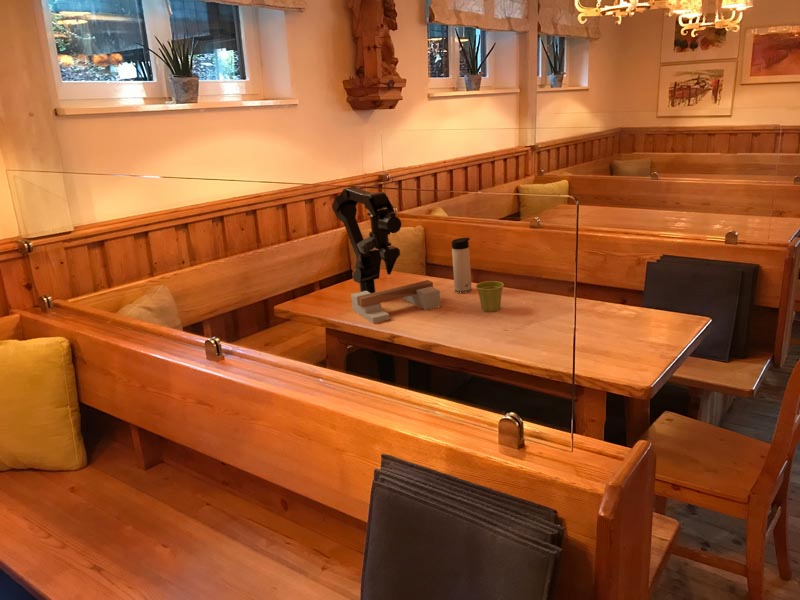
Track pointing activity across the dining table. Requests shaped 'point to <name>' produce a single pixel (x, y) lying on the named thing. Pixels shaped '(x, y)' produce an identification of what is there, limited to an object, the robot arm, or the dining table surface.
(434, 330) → the dining table surface
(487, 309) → the plant pot
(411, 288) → the walnut bar
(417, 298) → the notch rack
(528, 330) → the dining table surface
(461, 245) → the travel mug
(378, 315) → the notch rack
